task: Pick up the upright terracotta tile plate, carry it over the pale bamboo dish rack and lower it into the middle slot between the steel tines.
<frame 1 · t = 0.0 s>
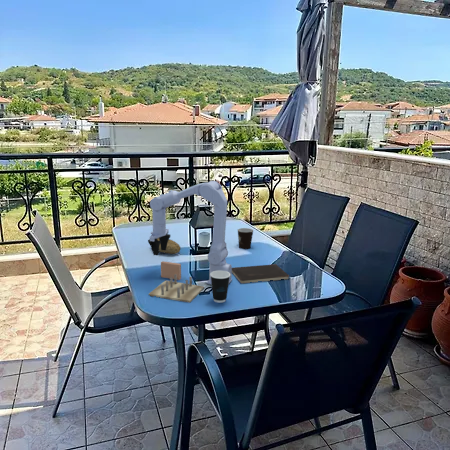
hand: (159, 252, 186), 10 cm above the table, tool pointing down, fingers open, 7 cm apart
coffee mug: (244, 246, 231), on the table
dish rack: (177, 291, 169), on the table
sponge: (166, 251, 220), on the table
hardcover book: (258, 276, 190), on the table
dixie cup: (219, 300, 162), on the table
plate: (171, 277, 184), on the table
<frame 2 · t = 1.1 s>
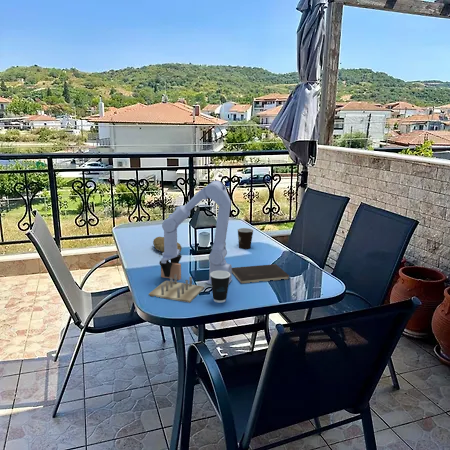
hand: (170, 273, 183), 2 cm above the table, tool pointing down, fingers open, 7 cm apart
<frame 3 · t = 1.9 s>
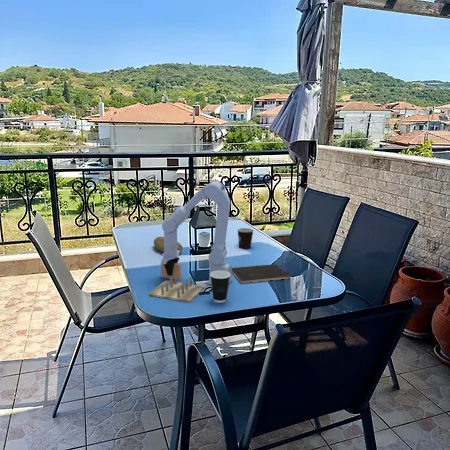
hand: (171, 274, 183), 2 cm above the table, tool pointing down, fingers closed on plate, 2 cm apart
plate: (171, 277, 184), on the table, touching gripper
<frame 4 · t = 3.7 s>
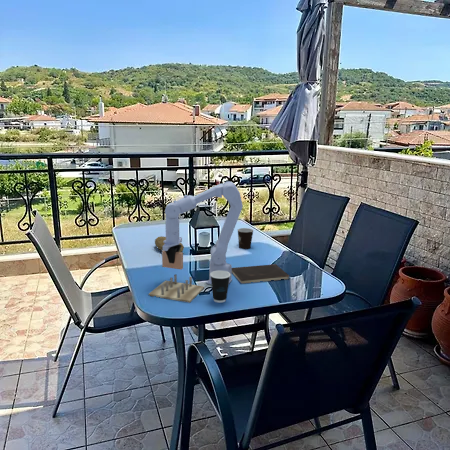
hand: (172, 262, 176), 9 cm above the table, tool pointing down, fingers closed on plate
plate: (172, 267, 177), point 7 cm above the table, touching gripper
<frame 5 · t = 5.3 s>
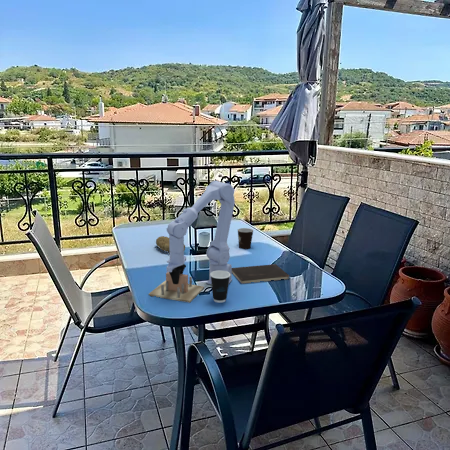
hand: (176, 282, 168), 4 cm above the table, tool pointing down, fingers closed on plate, 2 cm apart
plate: (177, 290, 169), point 1 cm above the table, touching dish rack, gripper
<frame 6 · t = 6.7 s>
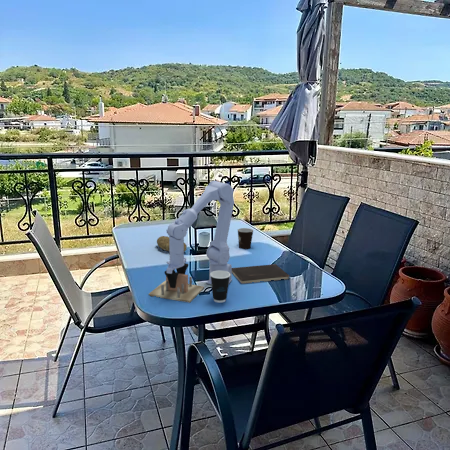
hand: (176, 284, 168), 3 cm above the table, tool pointing down, fingers open, 7 cm apart
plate: (177, 290, 169), point 1 cm above the table, touching dish rack
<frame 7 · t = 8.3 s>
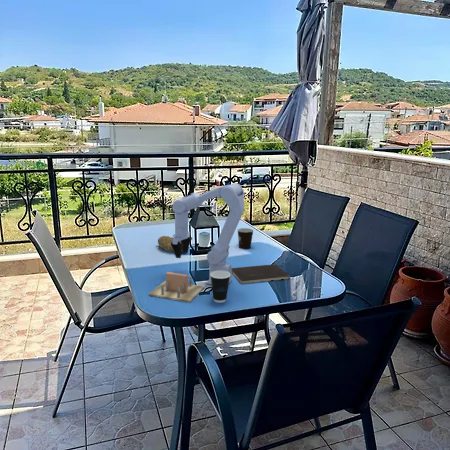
hand: (181, 255, 185), 9 cm above the table, tool pointing down, fingers open, 7 cm apart
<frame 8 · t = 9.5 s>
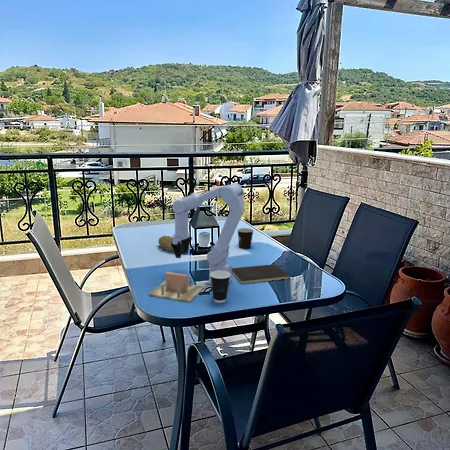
hand: (181, 255, 185), 9 cm above the table, tool pointing down, fingers open, 7 cm apart
at the end: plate 0.1 cm off-centre on the dish rack, point 0.8 cm above the dish rack's base; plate tilted 0°; the gripper is holding nothing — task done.
